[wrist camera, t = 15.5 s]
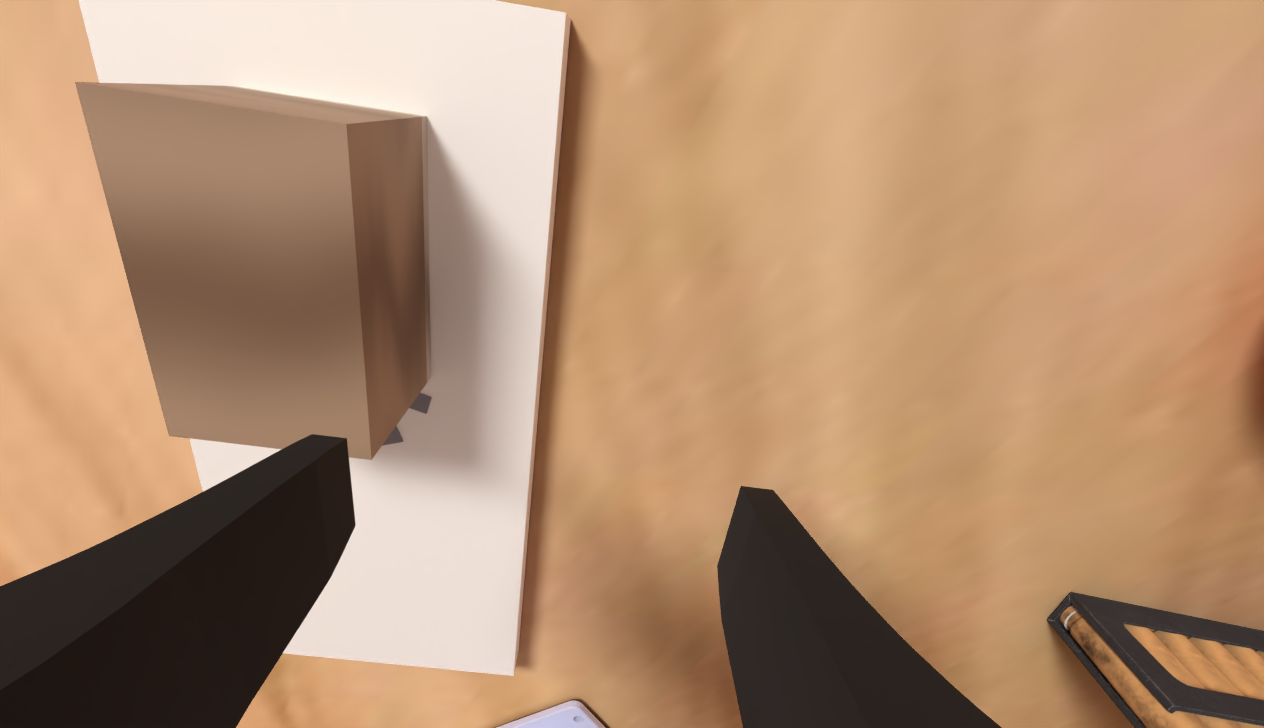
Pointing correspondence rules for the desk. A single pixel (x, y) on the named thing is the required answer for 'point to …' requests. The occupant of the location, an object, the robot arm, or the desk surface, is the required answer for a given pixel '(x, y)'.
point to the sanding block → (270, 257)
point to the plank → (459, 291)
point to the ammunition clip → (1167, 663)
